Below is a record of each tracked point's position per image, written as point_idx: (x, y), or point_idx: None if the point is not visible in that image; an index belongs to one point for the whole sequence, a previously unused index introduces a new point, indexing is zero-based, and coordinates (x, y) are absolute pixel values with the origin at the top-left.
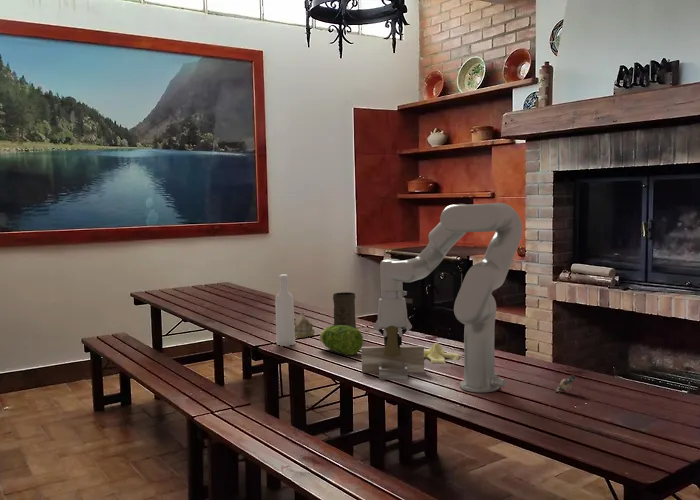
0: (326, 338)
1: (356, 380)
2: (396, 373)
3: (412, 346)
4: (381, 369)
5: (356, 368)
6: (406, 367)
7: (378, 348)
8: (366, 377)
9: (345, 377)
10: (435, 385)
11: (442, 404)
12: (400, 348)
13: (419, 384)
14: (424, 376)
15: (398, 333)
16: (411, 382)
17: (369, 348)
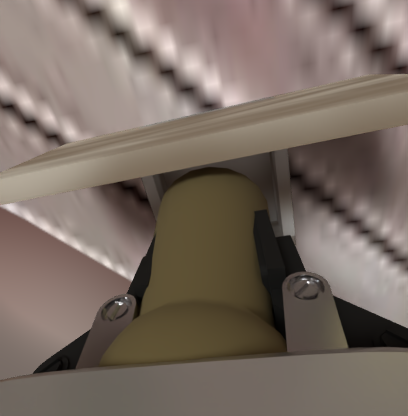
0: None
1: (101, 257)
2: None
3: (374, 105)
4: None
5: (12, 88)
6: (290, 219)
7: (96, 183)
8: (120, 219)
9: (46, 230)
10: (392, 273)
11: None
12: (261, 151)
13: (332, 270)
14: (361, 169)
15: (279, 309)
16: (302, 253)
17: (37, 196)
